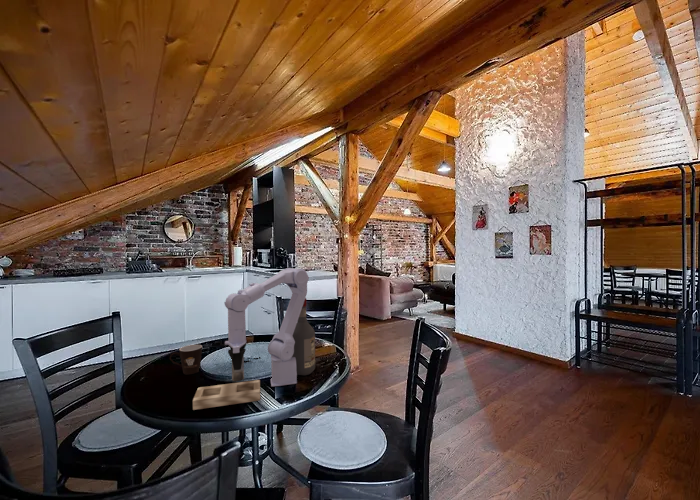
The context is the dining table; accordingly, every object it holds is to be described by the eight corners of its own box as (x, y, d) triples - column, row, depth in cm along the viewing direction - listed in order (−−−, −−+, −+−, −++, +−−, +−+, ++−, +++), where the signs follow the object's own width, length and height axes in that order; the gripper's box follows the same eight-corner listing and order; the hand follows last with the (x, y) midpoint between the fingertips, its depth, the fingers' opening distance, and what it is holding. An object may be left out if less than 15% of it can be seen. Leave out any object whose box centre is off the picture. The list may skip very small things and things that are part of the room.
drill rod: (244, 375, 117) (243, 348, 116) (243, 380, 113) (243, 351, 113) (232, 377, 116) (231, 349, 115) (231, 381, 112) (231, 352, 111)
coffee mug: (206, 367, 142) (206, 344, 142) (195, 375, 133) (194, 351, 133) (181, 367, 143) (180, 344, 143) (168, 375, 135) (167, 350, 134)
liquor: (287, 374, 132) (287, 299, 133) (296, 366, 141) (296, 296, 142) (308, 376, 130) (308, 300, 130) (316, 368, 139) (316, 297, 139)
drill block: (260, 387, 121) (259, 379, 121) (260, 400, 112) (260, 391, 112) (198, 396, 115) (198, 387, 115) (192, 409, 106) (192, 400, 106)
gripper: (226, 324, 120) (227, 361, 120) (222, 334, 106) (223, 376, 106) (246, 322, 122) (247, 359, 122) (245, 332, 108) (246, 373, 108)
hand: (237, 367), depth 114 cm, fingers closed on drill rod, 4 cm apart
